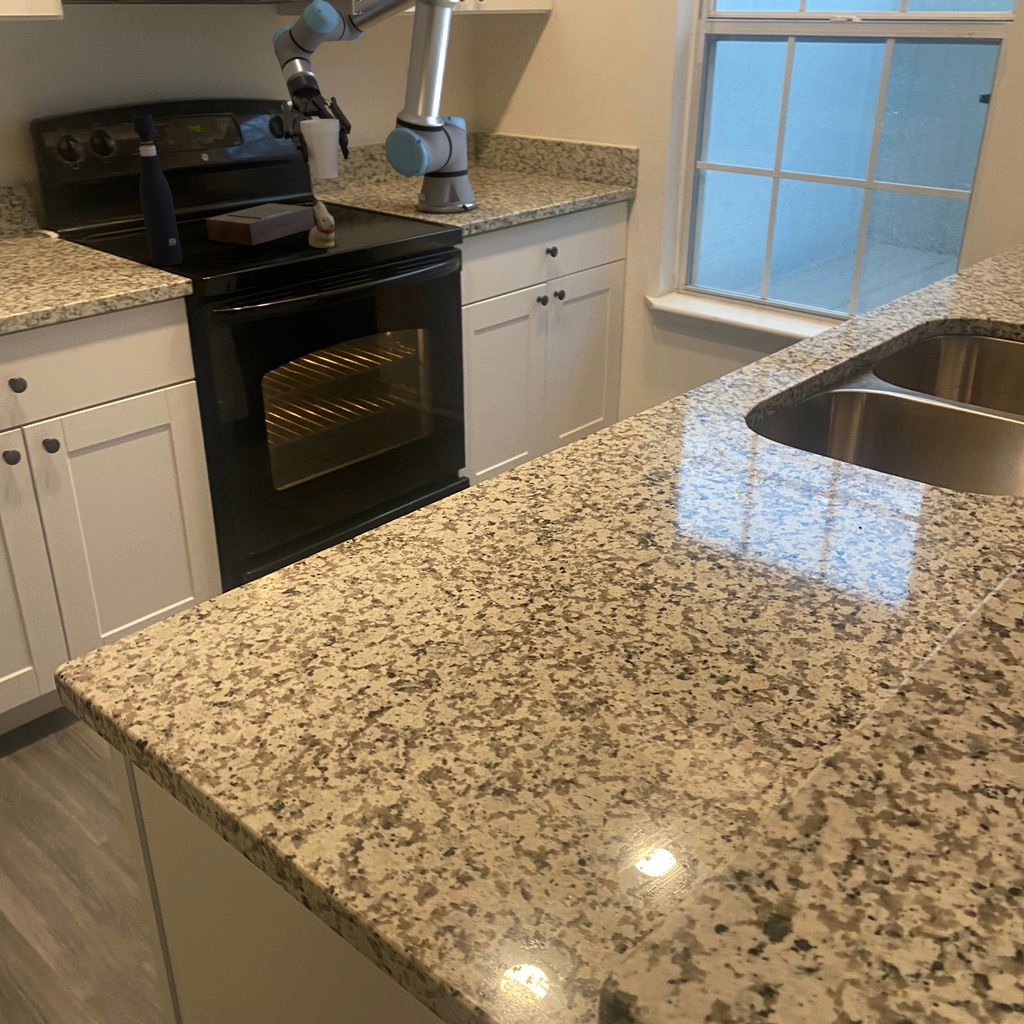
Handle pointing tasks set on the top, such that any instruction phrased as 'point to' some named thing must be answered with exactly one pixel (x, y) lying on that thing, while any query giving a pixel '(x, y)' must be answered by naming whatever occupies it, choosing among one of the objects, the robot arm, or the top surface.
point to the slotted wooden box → (260, 224)
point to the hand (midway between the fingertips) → (326, 157)
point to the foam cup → (322, 146)
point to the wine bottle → (156, 200)
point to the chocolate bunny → (322, 228)
